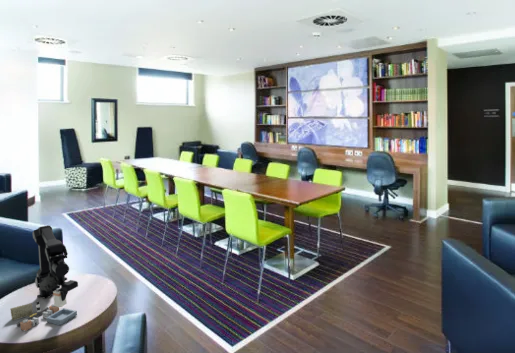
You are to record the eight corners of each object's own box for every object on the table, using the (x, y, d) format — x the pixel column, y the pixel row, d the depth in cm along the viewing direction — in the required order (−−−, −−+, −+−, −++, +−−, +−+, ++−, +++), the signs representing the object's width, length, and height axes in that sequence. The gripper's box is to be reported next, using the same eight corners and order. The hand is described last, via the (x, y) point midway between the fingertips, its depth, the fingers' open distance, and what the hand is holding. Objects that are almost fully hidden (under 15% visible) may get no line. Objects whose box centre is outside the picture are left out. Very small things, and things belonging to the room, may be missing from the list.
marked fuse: (54, 306, 174) (52, 290, 173) (61, 302, 177) (59, 286, 176) (60, 307, 173) (58, 291, 171) (66, 303, 176) (65, 288, 175)
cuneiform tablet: (40, 315, 180) (11, 323, 173) (40, 313, 184) (11, 320, 177) (39, 301, 180) (10, 308, 173) (38, 299, 184) (10, 306, 177)
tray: (46, 322, 173) (46, 317, 173) (63, 312, 182) (63, 307, 182) (60, 325, 170) (60, 321, 170) (77, 315, 179) (76, 310, 179)
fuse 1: (21, 329, 167) (20, 321, 166) (27, 326, 170) (26, 318, 169) (25, 330, 166) (24, 322, 165) (31, 327, 169) (30, 319, 168)
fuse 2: (49, 313, 181) (48, 305, 180) (54, 310, 184) (54, 302, 183) (54, 314, 180) (53, 306, 179) (59, 311, 183) (58, 303, 182)
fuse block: (16, 326, 169) (16, 321, 169) (47, 309, 184) (46, 305, 184) (27, 329, 167) (27, 324, 167) (57, 312, 182) (57, 307, 181)
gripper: (26, 273, 168) (30, 304, 170) (57, 279, 161) (60, 311, 164) (48, 264, 178) (51, 293, 181) (77, 269, 172) (80, 300, 174)
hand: (60, 300), depth 175 cm, fingers closed on marked fuse, 4 cm apart
